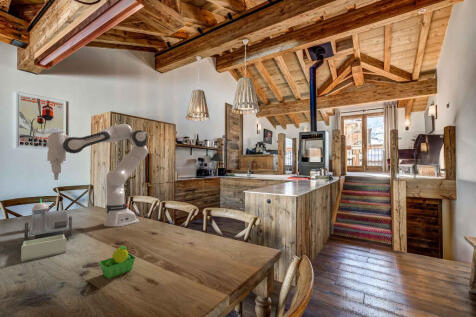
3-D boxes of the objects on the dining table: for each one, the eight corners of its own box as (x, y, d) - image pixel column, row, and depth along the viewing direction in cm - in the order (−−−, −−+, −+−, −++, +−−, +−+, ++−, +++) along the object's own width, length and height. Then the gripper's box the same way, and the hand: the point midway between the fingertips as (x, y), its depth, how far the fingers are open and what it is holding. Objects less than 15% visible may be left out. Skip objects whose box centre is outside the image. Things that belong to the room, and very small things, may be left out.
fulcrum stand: (71, 233, 132) (71, 216, 133) (71, 235, 130) (72, 217, 130) (24, 242, 119) (25, 222, 119) (24, 243, 116) (24, 223, 116)
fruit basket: (127, 264, 94) (128, 238, 94) (137, 270, 88) (137, 243, 88) (98, 274, 85) (98, 246, 85) (106, 282, 79) (107, 252, 80)
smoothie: (40, 230, 138) (41, 199, 138) (27, 230, 138) (28, 199, 138) (52, 226, 146) (52, 197, 147) (40, 226, 146) (40, 197, 147)
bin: (63, 243, 117) (64, 230, 117) (66, 252, 105) (66, 238, 105) (23, 251, 106) (23, 237, 106) (21, 262, 95) (21, 246, 95)
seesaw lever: (65, 211, 140) (65, 206, 140) (68, 229, 120) (69, 223, 119) (31, 215, 129) (31, 210, 129) (29, 235, 109) (29, 229, 108)
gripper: (64, 158, 130) (63, 180, 130) (62, 158, 145) (61, 178, 145) (50, 157, 126) (49, 181, 126) (49, 158, 141) (49, 179, 141)
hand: (56, 179), depth 136 cm, fingers closed
